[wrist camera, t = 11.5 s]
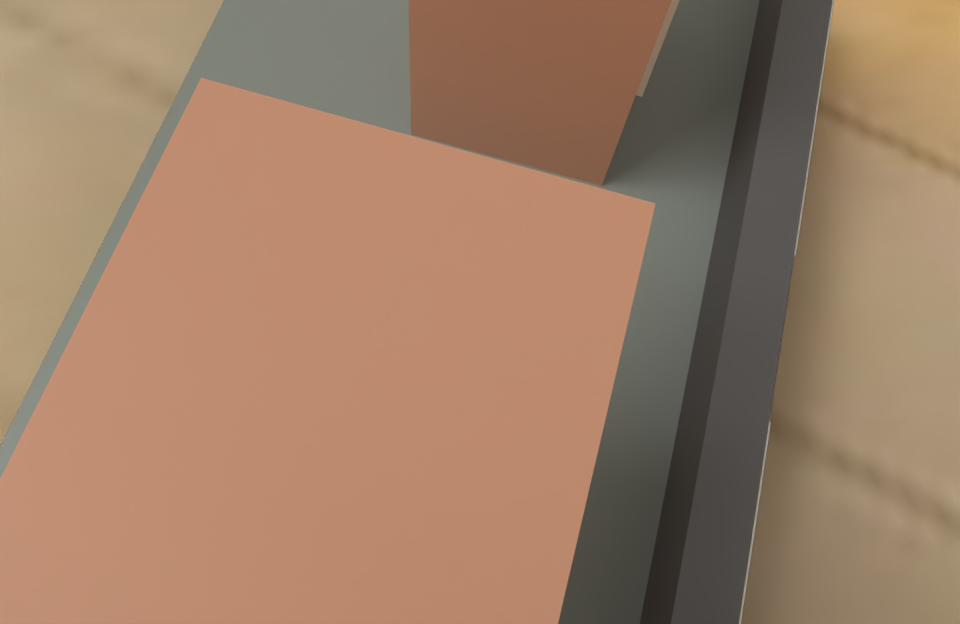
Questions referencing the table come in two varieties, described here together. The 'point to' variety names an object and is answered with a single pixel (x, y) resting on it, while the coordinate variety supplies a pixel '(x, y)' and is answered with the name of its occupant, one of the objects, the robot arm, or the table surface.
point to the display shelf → (662, 279)
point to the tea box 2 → (533, 76)
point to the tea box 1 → (325, 386)
